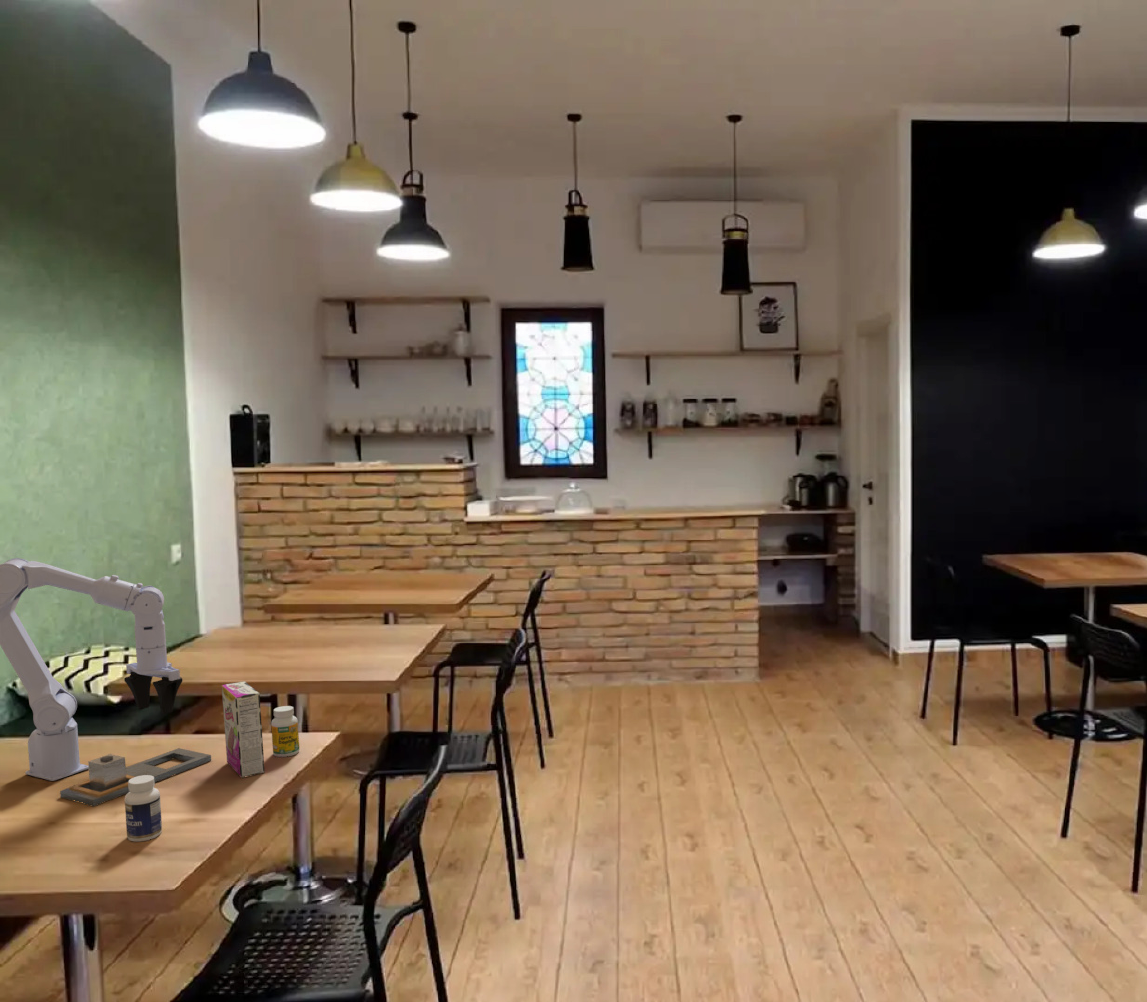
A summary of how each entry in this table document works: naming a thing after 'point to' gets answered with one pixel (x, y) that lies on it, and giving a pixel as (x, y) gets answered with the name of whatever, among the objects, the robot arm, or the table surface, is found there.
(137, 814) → the pill bottle
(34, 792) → the table surface
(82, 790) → the rail
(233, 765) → the candy bar box
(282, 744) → the supplement bottle
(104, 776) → the metal block with knob
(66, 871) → the table surface
